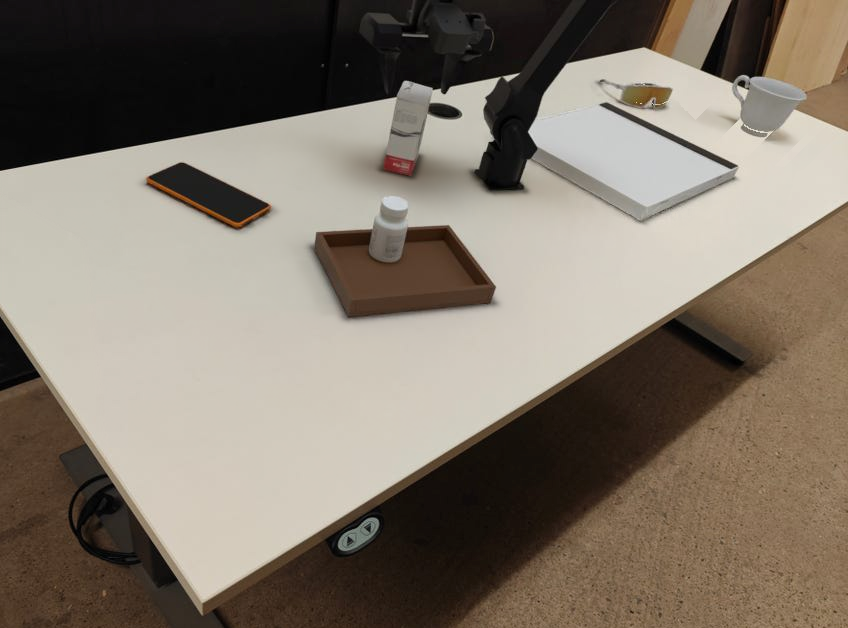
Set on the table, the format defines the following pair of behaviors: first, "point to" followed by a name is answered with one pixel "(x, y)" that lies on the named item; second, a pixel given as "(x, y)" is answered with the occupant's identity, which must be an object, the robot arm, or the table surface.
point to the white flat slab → (626, 159)
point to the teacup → (766, 103)
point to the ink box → (407, 127)
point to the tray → (403, 272)
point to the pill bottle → (389, 230)
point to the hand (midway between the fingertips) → (415, 93)
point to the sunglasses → (642, 94)
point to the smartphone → (209, 194)
